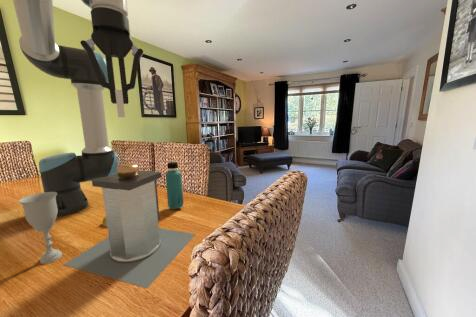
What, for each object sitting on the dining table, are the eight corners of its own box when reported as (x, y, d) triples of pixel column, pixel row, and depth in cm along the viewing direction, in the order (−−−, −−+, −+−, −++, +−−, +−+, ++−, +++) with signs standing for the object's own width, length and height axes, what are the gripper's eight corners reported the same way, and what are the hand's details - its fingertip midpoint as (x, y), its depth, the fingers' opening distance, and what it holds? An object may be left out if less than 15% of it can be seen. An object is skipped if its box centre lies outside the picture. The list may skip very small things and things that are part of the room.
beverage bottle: (179, 212, 81) (176, 164, 78) (164, 211, 83) (160, 163, 79) (186, 206, 88) (184, 161, 84) (172, 205, 89) (169, 160, 85)
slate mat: (63, 266, 52) (63, 264, 52) (131, 224, 72) (130, 223, 72) (147, 290, 44) (147, 288, 44) (195, 235, 65) (195, 234, 65)
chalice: (49, 251, 58) (37, 192, 54) (74, 250, 58) (64, 191, 55) (25, 270, 50) (9, 203, 47) (54, 268, 51) (40, 202, 48)
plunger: (109, 249, 55) (98, 168, 51) (135, 231, 64) (127, 161, 59) (137, 255, 52) (127, 170, 48) (160, 236, 61) (153, 162, 57)
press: (98, 258, 54) (86, 181, 50) (142, 227, 69) (136, 166, 65) (138, 267, 50) (128, 185, 46) (175, 233, 65) (170, 169, 61)
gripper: (70, -3, 41) (88, 116, 45) (141, 13, 47) (150, 116, 51) (78, 14, 47) (93, 117, 52) (140, 26, 53) (148, 117, 58)
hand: (121, 117), depth 51 cm, fingers closed
